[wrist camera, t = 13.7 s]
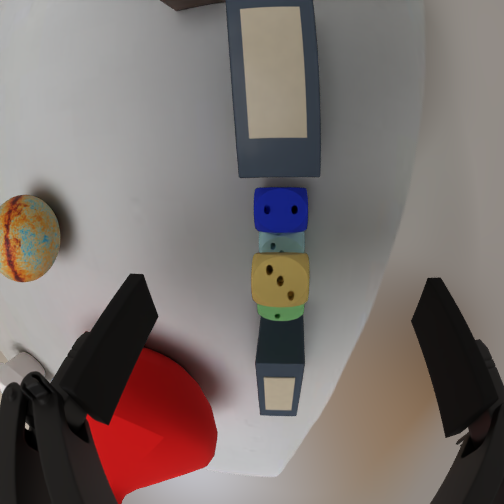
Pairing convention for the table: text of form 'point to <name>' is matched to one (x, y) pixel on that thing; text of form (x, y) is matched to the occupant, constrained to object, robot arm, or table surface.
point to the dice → (280, 253)
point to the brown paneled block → (188, 3)
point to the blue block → (276, 148)
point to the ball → (27, 238)
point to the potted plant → (18, 369)
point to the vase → (155, 427)
